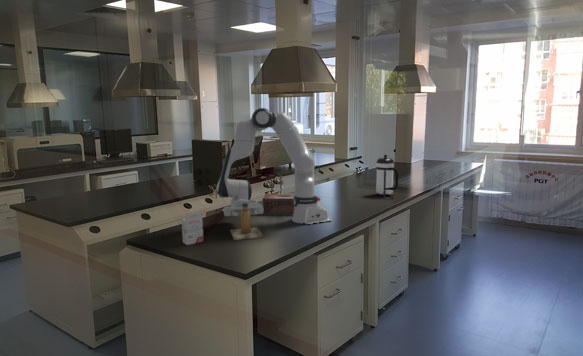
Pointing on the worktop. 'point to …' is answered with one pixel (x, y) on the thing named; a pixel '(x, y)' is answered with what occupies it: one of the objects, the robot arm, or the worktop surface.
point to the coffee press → (385, 176)
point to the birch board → (254, 234)
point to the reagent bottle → (245, 219)
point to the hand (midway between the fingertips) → (245, 214)
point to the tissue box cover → (278, 203)
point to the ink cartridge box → (192, 228)
